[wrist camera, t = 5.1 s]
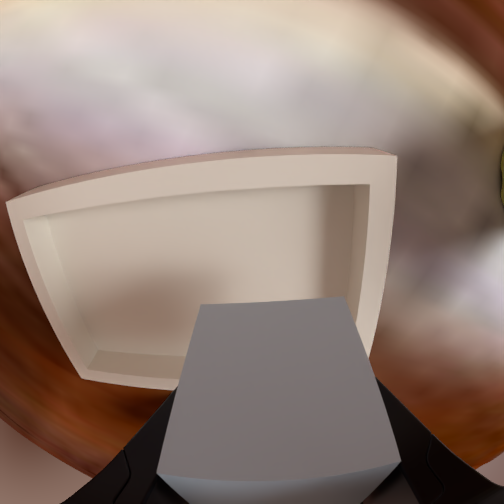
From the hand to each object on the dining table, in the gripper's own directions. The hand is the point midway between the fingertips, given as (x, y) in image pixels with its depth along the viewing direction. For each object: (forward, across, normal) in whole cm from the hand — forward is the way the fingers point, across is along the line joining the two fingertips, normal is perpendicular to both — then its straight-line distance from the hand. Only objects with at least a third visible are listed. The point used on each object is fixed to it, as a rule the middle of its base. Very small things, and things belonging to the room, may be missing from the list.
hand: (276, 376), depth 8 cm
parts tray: (+6, +4, 0) cm, 7 cm away
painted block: (+1, 0, 0) cm, 1 cm away
